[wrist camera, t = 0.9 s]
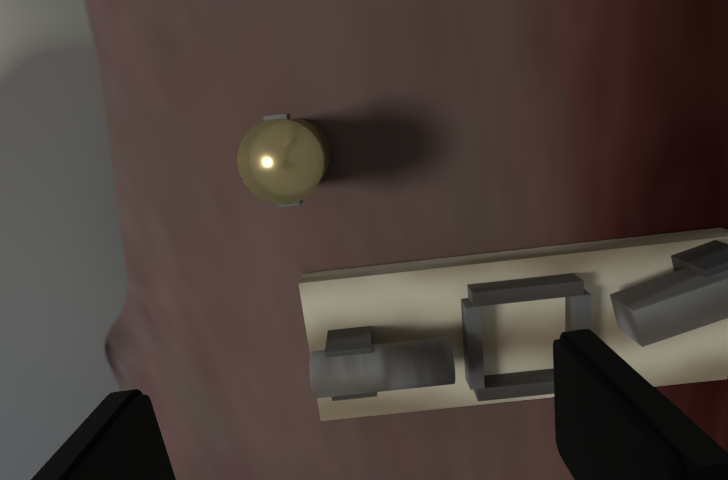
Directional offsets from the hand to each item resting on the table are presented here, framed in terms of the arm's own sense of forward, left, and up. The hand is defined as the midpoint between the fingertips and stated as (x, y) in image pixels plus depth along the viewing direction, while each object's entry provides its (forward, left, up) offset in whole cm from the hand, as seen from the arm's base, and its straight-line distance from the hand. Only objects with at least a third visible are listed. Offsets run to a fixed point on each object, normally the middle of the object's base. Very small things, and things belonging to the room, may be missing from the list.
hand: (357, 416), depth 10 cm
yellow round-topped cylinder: (-5, -4, -21) cm, 22 cm away
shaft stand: (+9, +10, -21) cm, 26 cm away
